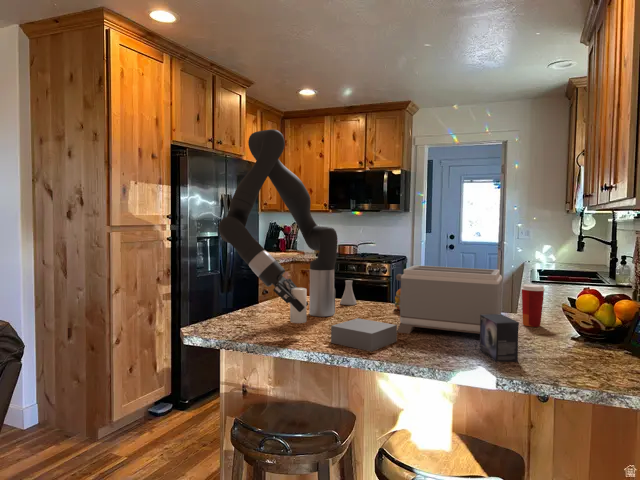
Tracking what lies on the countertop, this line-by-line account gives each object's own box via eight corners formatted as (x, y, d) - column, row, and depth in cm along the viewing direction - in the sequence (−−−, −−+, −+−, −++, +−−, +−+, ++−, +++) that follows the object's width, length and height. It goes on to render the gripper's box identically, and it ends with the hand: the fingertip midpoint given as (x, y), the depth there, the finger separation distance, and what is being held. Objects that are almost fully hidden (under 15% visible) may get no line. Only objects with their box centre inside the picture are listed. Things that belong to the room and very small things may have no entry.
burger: (422, 315, 180) (423, 289, 179) (388, 311, 187) (389, 286, 186) (432, 310, 192) (433, 285, 191) (400, 306, 198) (401, 282, 198)
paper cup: (546, 325, 166) (548, 285, 165) (539, 328, 160) (540, 287, 160) (523, 321, 171) (525, 283, 171) (515, 325, 166) (517, 285, 165)
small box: (477, 350, 133) (478, 313, 132) (500, 350, 133) (501, 313, 133) (494, 362, 122) (495, 321, 122) (518, 361, 123) (520, 321, 122)
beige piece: (297, 318, 149) (297, 287, 148) (309, 321, 146) (309, 288, 145) (286, 321, 145) (286, 289, 145) (299, 323, 142) (299, 290, 141)
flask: (355, 306, 198) (356, 282, 197) (338, 305, 199) (339, 281, 199) (357, 303, 205) (358, 280, 204) (341, 302, 206) (341, 279, 206)
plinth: (357, 333, 150) (357, 318, 150) (396, 341, 141) (396, 324, 141) (330, 342, 139) (331, 325, 139) (371, 351, 130) (371, 333, 130)
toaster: (402, 320, 172) (403, 264, 171) (502, 330, 158) (504, 269, 157) (387, 331, 154) (388, 269, 153) (498, 344, 140) (501, 275, 139)
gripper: (268, 262, 139) (308, 304, 137) (281, 257, 153) (317, 295, 151) (250, 279, 140) (290, 321, 139) (265, 273, 154) (301, 311, 153)
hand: (304, 307), depth 145 cm, fingers closed on beige piece, 5 cm apart
